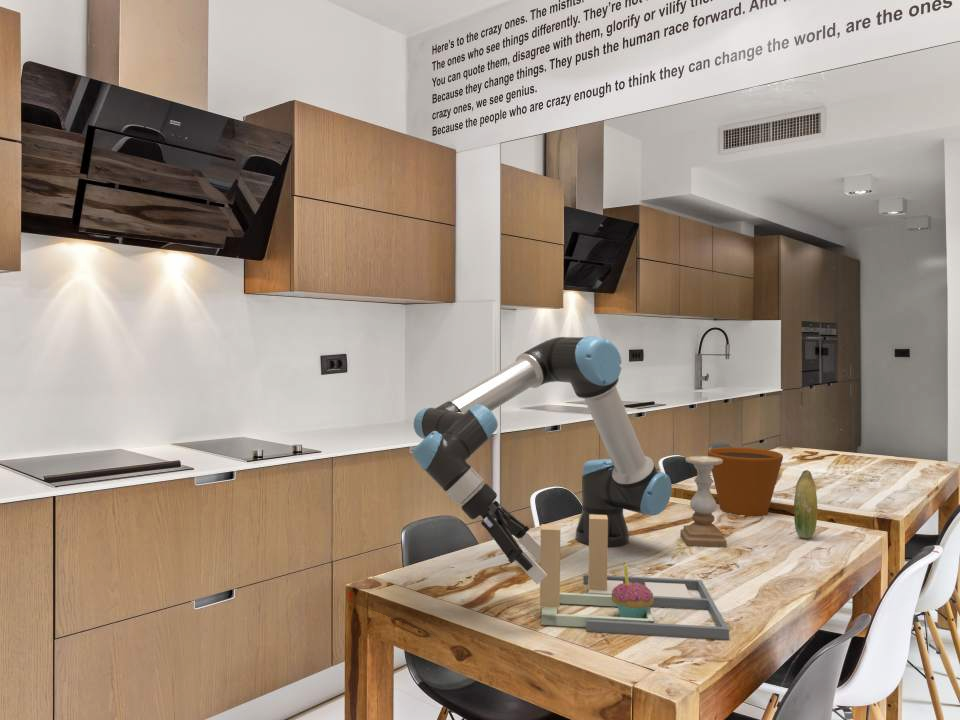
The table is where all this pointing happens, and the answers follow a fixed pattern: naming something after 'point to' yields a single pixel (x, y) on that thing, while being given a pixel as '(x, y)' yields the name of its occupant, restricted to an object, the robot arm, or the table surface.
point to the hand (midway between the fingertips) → (543, 568)
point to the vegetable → (805, 506)
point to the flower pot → (745, 479)
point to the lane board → (668, 602)
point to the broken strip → (599, 564)
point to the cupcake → (632, 598)
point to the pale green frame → (553, 597)
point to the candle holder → (703, 507)
